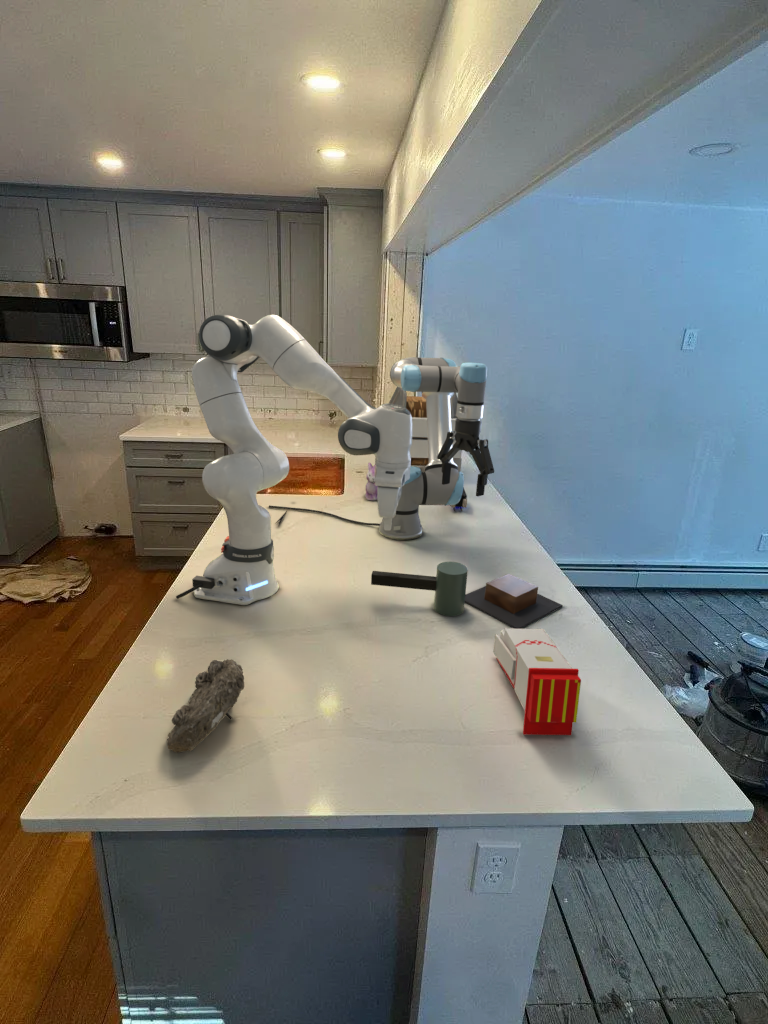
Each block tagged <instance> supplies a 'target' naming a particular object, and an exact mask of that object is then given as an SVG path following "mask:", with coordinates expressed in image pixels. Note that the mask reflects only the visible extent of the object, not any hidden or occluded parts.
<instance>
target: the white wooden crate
mask: <svg viewBox="0 0 768 1024" xmlns="http://www.w3.org/2000/svg"><path fill="white" fill-rule="evenodd" d="M407 394H408V393H407V391H404V390H403V389H402V388H400V387H397V386H396V388H395V390H394V392H393V394H392V395H391V398H390V400H389V402H388V403H389V404H396V405H400V406H403V407H405V408H406V409H408V410H409V412H410V413H411V417H412V445H411V448H410V456H411V466H412V467H414V466H415V467H426V466H427V464H428V463H429V459H428V434H427V410H426V400H425V399H424V398H423V397H422V396H415V395H414V396H413V395H412V396H411V395H407ZM457 400H458V394H457V393H454V395H453V396H452V397H451V398H450V411H451V431H455V421H456V419H457V418H458V417H457V416H456V411H457ZM455 432H456V431H455ZM455 443H456V440H455V439H454V442H453V444H452V446H453V445H454V444H455ZM462 453H463V450H459V451H458V452H457V453H456V454H455V456H454V457H453V462H454V463H455V464H456V465H457V466H458V472H462V461H463V460H462Z"/></svg>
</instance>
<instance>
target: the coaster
mask: <svg viewBox="0 0 768 1024" xmlns="http://www.w3.org/2000/svg"><path fill="white" fill-rule="evenodd" d="M485 589H486V585H485V586H483V587H480V588H478V589H476V590H473V591H470V592H468V593H465V603H464V604H467V605H469V606H471V607H473V608H474V609H477V610H478V611H481V612H482V613H484V614H486V615H488V616H489V617H492V618H493V619H495V620H497V621H499V622H501V623H502V624H505V625H507V626H509V628H515V629H524V628H525V627H527V626H529V625H531V624H533V623H535V622H537V621H538V620H540V619H543V618H544V617H546V616H548V615H550V614H552V613H554V612H556V611H558V610H559V609H562V608H563V604H561V603H559V602H557V601H554V600H553V599H551V598H548V597H546V596H543V595H542V594H539V593H537V600H536V603H535V604H533V605H531V606H529V607H527V608H525V609H523V610H521V611H519V612H517V613H515V614H513V613H511V612H509V611H507V610H505V609H503V608H501V607H499V606H497V605H495V604H493V603H491V602H489V601H487V600H485V599H484V597H485Z"/></svg>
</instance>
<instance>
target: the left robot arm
mask: <svg viewBox="0 0 768 1024" xmlns="http://www.w3.org/2000/svg"><path fill="white" fill-rule="evenodd" d="M198 340H199V344H200V346H201V348H202V350H203V351H204V352H205V353H206V354H207V355H206V356H203V357H202V358H200V359H198V360H197V361H196V362H195V363H194V364H193V365H192V368H191V378H192V383H193V387H194V392H195V396H196V398H197V402H198V405H199V407H200V410H201V413H202V415H203V418H204V421H205V424H206V427H207V429H208V433H209V434H210V435H211V436H212V438H213V439H215V440H217V441H220V442H222V443H224V444H225V445H226V446H227V447H228V448H229V449H230V450H231V452H232V453H231V454H227V455H223V456H219V457H218V458H216V459H215V460H213V461H211V462H209V463H207V464H206V465H205V467H204V468H203V470H202V474H201V480H202V486H203V488H204V490H205V491H206V494H208V495H209V496H210V497H211V498H212V499H214V500H215V501H217V502H219V503H220V505H221V506H222V508H223V510H224V512H225V515H226V519H227V529H228V535H227V536H226V537H225V538H224V542H223V543H222V546H221V548H220V553H221V554H220V555H218V556H217V557H216V558H214V559H212V560H211V561H210V562H209V563H208V564H207V565H206V567H205V569H204V571H203V573H202V575H195V576H194V577H193V578H192V580H191V581H192V587H190V588H189V589H187V590H185V591H183V592H181V593H179V594H176V596H175V598H176V599H177V600H179V599H181V598H183V597H185V596H187V595H189V594H190V593H193V596H194V597H195V598H196V599H202V600H209V601H213V602H214V601H215V602H221V603H227V604H233V605H241V606H247V605H250V604H252V603H254V602H257V601H260V600H265V599H267V598H269V597H271V596H273V595H275V594H276V593H277V592H278V591H279V587H280V586H279V583H278V579H277V577H276V573H275V567H274V566H275V565H274V559H275V545H274V540H273V538H272V515H271V513H270V512H269V510H268V509H267V508H266V507H264V506H262V505H259V502H258V499H257V493H258V492H261V491H263V490H267V489H269V488H272V487H275V486H276V485H277V484H279V483H281V482H283V480H285V479H286V478H287V476H288V475H289V472H290V462H289V458H288V456H287V454H286V453H285V452H284V451H283V450H282V449H281V448H279V447H277V446H276V445H274V444H272V443H271V442H270V441H269V440H268V439H267V438H266V437H265V436H264V434H263V433H262V432H261V431H260V430H259V428H258V426H257V425H256V423H255V422H254V420H253V418H252V415H251V413H250V410H249V407H248V405H247V402H246V399H245V397H244V394H243V391H242V389H241V387H240V383H239V380H238V373H243V372H245V371H246V370H247V369H248V368H249V367H250V366H252V365H254V364H255V363H257V362H258V361H259V360H260V359H261V360H263V361H264V362H265V363H266V364H267V365H268V366H269V368H270V369H271V370H272V371H273V372H274V374H276V376H278V377H279V379H280V380H281V381H283V383H285V384H286V385H288V386H289V387H290V388H292V389H294V390H296V391H301V392H307V393H312V394H316V395H320V396H322V397H324V398H326V399H328V400H329V402H331V403H332V404H333V405H334V406H335V407H336V408H337V409H338V410H339V411H340V412H341V413H342V414H343V415H344V416H345V417H346V418H347V419H346V420H344V421H342V423H341V424H340V426H339V428H338V431H337V439H338V443H339V446H340V447H341V448H342V450H343V451H344V452H345V453H347V454H349V455H352V456H370V455H374V465H375V485H376V486H378V488H377V496H378V500H377V513H378V516H379V518H381V519H383V520H384V530H391V527H392V518H394V517H395V515H396V509H397V506H398V503H399V500H400V497H401V493H402V486H403V485H404V484H405V482H406V481H407V480H409V479H410V467H411V456H410V448H411V445H412V417H411V413H410V412H409V410H408V409H406V408H405V407H403V406H400V405H396V404H389V402H388V403H387V402H386V403H382V404H380V406H378V407H375V406H373V405H371V404H370V403H368V402H367V401H366V400H365V399H364V398H363V397H362V396H361V395H360V394H359V393H358V392H357V391H356V390H355V389H354V388H353V387H352V386H351V385H350V384H349V383H348V381H345V379H343V377H342V376H340V375H339V374H338V373H337V372H336V371H335V370H334V369H333V368H332V366H330V365H329V364H328V363H327V362H326V361H325V360H324V358H322V356H321V355H320V353H318V352H317V350H316V349H315V348H313V346H312V345H311V344H310V343H309V342H308V340H307V339H306V338H304V336H303V335H302V334H301V333H300V332H299V331H298V330H297V329H296V328H294V327H293V326H292V325H291V324H290V323H288V321H286V320H285V319H284V318H282V317H281V316H279V315H277V314H268V315H264V316H263V317H261V318H260V319H259V320H258V321H257V322H255V323H254V324H249V323H248V322H247V321H246V320H244V319H241V318H237V317H236V316H233V315H229V314H213V315H211V316H209V317H207V318H206V319H204V321H203V322H202V323H201V324H200V327H199V331H198Z"/></svg>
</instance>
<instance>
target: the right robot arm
mask: <svg viewBox="0 0 768 1024" xmlns="http://www.w3.org/2000/svg"><path fill="white" fill-rule="evenodd" d="M389 378H390V380H391V382H392V384H393V385H394V386H395V387H396V388H397V387H400V388H402V389H403V390H404V391H406V392H410V393H421V397H423V398H424V399H425V400H426V410H427V434H428V459H429V463H428V464H427V466H424V471H422V469H421V467H420V466H411V467H410V479H409V480H407V481H406V482H405V484H404V485H403V486H402V493H401V497H400V500H399V503H398V506H397V509H396V515H395V517H394V518H392V527H391V530H384V520H383V518H381V522H379V523H378V522H377V523H374V522H363V521H357V520H353V519H349V518H346V517H342V516H339V515H337V514H334V513H331V512H325V511H321V510H315V509H310V508H300V507H289V506H279V505H271V504H270V505H268V508H270V509H280V510H288V511H289V510H291V511H301V512H309V513H316V514H321V515H325V516H330V517H334V518H336V519H339V520H342V521H344V522H345V521H346V522H349V523H351V524H352V523H353V524H358V525H364V526H372V527H373V526H375V527H378V533H379V534H380V535H381V536H382V537H385V538H387V539H389V540H395V541H410V540H415V539H418V538H420V537H421V536H422V535H423V525H422V524H421V518H420V515H419V507H420V506H445V507H446V506H450V505H455V504H457V503H458V502H459V501H460V499H461V496H462V493H463V487H464V486H465V476H464V473H463V472H462V471H461V472H458V466H457V465H456V464H455V463H454V462H453V457H454V456H455V454H456V453H457V452H458V451H459V450H462V451H464V452H468V453H469V455H471V456H472V459H473V461H474V463H475V465H476V467H477V469H478V471H479V473H478V474H477V479H476V480H477V481H476V490H475V497H481V496H485V487H486V486H487V484H488V479H489V478H488V477H489V475H491V474H495V468H494V465H493V460H492V457H491V456H492V455H491V452H490V449H489V439H488V438H485V439H483V438H482V439H481V438H480V434H481V433H482V425H483V421H482V419H483V417H484V416H483V415H484V407H485V406H484V404H485V397H486V396H485V395H486V387H487V386H486V385H487V379H488V366H487V365H486V364H485V363H480V362H463V363H461V364H460V365H457V364H456V361H454V360H453V359H452V358H445V357H420V356H419V357H418V356H410V357H405V358H402V359H399V360H397V361H396V362H394V363H393V364H392V366H391V368H390V370H389ZM454 393H456V394H457V398H458V400H457V411H456V416H457V417H458V418H457V419H456V421H455V431H456V432H455V431H451V411H450V398H451V397H452V396H453V395H454ZM454 439H455V440H456V443H455V444H454V445H453V446H452V444H453V442H454ZM464 488H465V487H464Z"/></svg>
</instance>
